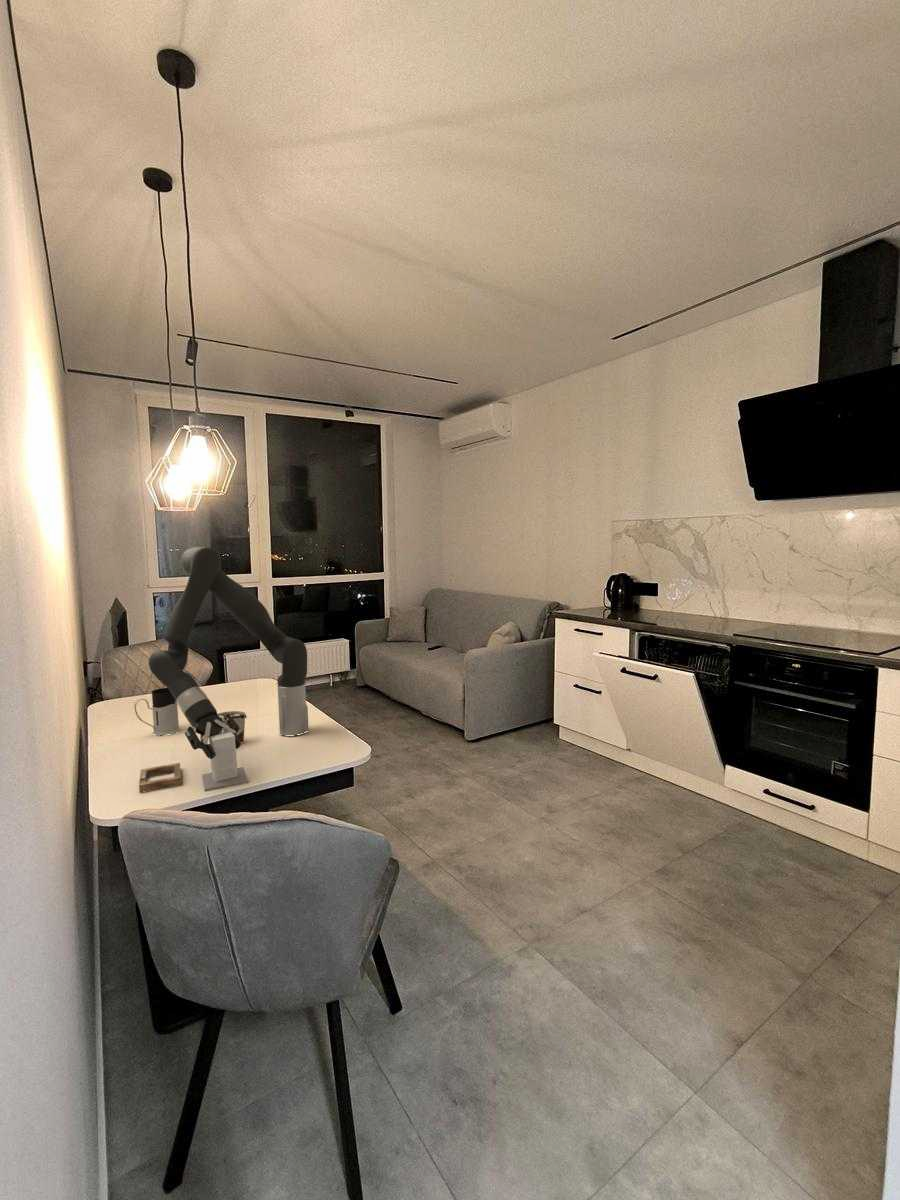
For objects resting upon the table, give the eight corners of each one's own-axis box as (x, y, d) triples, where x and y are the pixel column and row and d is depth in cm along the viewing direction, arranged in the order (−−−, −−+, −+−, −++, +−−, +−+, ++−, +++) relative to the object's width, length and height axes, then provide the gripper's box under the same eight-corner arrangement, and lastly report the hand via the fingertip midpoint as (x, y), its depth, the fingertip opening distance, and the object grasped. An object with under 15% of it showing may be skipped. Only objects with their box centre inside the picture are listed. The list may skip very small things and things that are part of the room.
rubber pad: (243, 768, 162) (243, 766, 162) (248, 782, 152) (248, 780, 152) (202, 776, 157) (202, 774, 157) (204, 791, 147) (204, 789, 147)
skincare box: (233, 771, 158) (231, 731, 157) (237, 776, 155) (235, 735, 154) (211, 777, 155) (208, 736, 154) (215, 782, 151) (212, 740, 150)
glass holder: (184, 731, 196) (182, 689, 194) (142, 742, 185) (139, 698, 183) (173, 726, 201) (170, 685, 200) (131, 737, 190) (128, 694, 189)
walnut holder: (180, 769, 162) (179, 761, 162) (181, 784, 152) (180, 776, 151) (141, 776, 158) (140, 767, 157) (139, 792, 147) (138, 783, 147)
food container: (240, 736, 189) (238, 708, 188) (248, 741, 185) (246, 712, 184) (203, 746, 181) (201, 716, 180) (210, 751, 176) (208, 720, 175)
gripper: (179, 705, 150) (210, 753, 146) (223, 692, 162) (253, 736, 158) (168, 721, 153) (198, 768, 149) (211, 707, 165) (240, 751, 161)
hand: (226, 751), depth 153 cm, fingers open, 8 cm apart
